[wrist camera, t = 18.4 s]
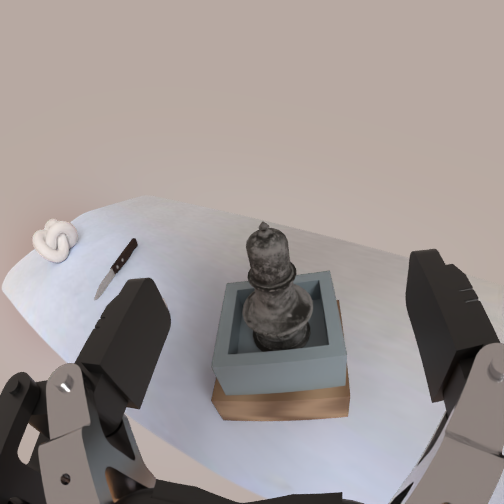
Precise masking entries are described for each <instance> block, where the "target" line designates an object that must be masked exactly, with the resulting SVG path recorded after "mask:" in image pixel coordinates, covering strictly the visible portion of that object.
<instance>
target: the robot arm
mask: <svg viewBox="0 0 504 504" xmlns="http://www.w3.org/2000/svg"><path fill="white" fill-rule="evenodd" d="M472 288H473V287H472V285H471V284H470V282H469V280H468V278H467V276H466V275H465V274H464V273H463V272H462V271H461V270H460V269H458V268H457V267H456V266H455V265H453V264H449V265H445V263H444V261H443V259H442V258H441V256H440V254H439V252H438V251H437V250H436V249H429V250H421V251H413V252H411V254H410V260H409V270H408V278H407V286H406V307H407V311H408V315H409V318H410V321H411V324H412V328H413V331H414V334H415V338H416V341H417V345H418V348H419V352H420V356H421V359H422V363H423V367H424V371H425V375H426V379H427V383H428V388H429V392H430V396H431V401H432V403H434V402H438V401H443V400H444V402H445V407H446V411H445V413H444V415H443V417H442V419H441V421H440V423H439V425H438V426H437V428H436V430H435V432H434V434H433V436H432V438H431V440H430V441H429V443H428V445H427V447H426V448H425V450H424V452H423V454H422V455H421V457H420V459H419V460H418V462H417V464H416V465H415V467H414V468H413V470H412V471H411V473H410V474H409V475H408V477H407V478H406V479H405V481H404V482H403V484H402V485H401V486H400V488H399V489H398V491H397V492H396V493H395V495H394V496H393V498H392V499H391V500H390V502H389V503H388V504H488V502H489V500H490V498H491V496H492V494H493V492H494V490H495V488H496V485H497V483H498V481H499V479H500V476H501V474H502V471H503V469H504V455H502V449H503V446H504V344H502V343H500V341H499V339H498V337H497V335H496V333H495V330H494V328H493V326H492V324H491V322H490V320H489V318H488V316H487V314H486V312H485V310H484V308H483V306H482V304H481V302H480V301H478V296H477V295H476V293H475V291H474V290H473V289H472ZM100 318H101V319H99V320H98V322H97V324H96V325H95V329H93V331H92V332H91V334H90V336H89V338H88V339H87V341H86V343H85V345H84V347H83V348H82V350H81V352H80V354H79V356H78V358H77V360H76V361H75V363H67V364H64V365H62V366H60V367H58V368H57V369H56V370H55V371H54V372H53V373H52V374H51V376H50V377H49V379H48V380H47V381H41V382H35V381H34V380H33V379H32V378H31V377H30V376H29V375H28V374H27V373H25V372H20V373H17V374H15V375H14V376H12V377H11V378H10V379H9V381H8V382H7V383H6V385H5V387H4V389H3V391H2V393H1V395H0V504H364V503H360V502H356V501H353V500H346V499H342V492H339V493H324V494H292V495H287V496H282V497H277V498H272V499H267V500H261V501H255V502H248V503H238V502H235V501H232V500H229V499H226V498H223V497H221V496H218V495H215V494H213V493H210V492H208V491H205V490H203V489H200V488H198V487H195V486H188V485H182V484H177V483H172V482H167V481H163V480H158V479H156V478H155V477H154V475H153V474H152V473H151V472H150V471H149V470H148V468H147V467H146V466H145V464H144V462H143V460H142V457H141V454H140V452H139V449H138V446H137V444H136V441H135V438H134V436H133V433H132V430H131V427H130V424H129V421H128V418H127V417H126V415H125V414H124V412H125V409H126V407H128V408H135V409H140V408H141V405H142V402H143V399H144V396H145V394H146V391H147V388H148V385H149V383H150V380H151V377H152V374H153V372H154V369H155V366H156V364H157V361H158V358H159V356H160V353H161V351H162V348H163V345H164V343H165V340H166V338H167V335H168V332H169V330H170V326H171V317H170V313H169V310H168V308H167V306H166V304H165V302H164V300H163V298H162V296H161V294H160V292H159V290H158V288H157V286H156V284H155V282H154V281H153V280H152V279H151V278H140V279H130V280H128V281H127V282H126V284H125V285H124V287H123V288H122V290H121V292H120V293H119V295H117V296H116V297H115V298H114V299H113V300H112V301H111V302H110V303H109V304H108V305H107V307H106V308H105V310H104V312H103V313H102V315H101V317H100ZM28 423H29V424H30V425H31V426H33V427H34V428H35V429H36V430H38V431H39V432H40V434H39V437H38V439H37V442H36V445H35V447H34V450H33V453H32V456H31V458H30V461H29V463H28V464H27V465H25V464H24V463H22V462H21V461H20V459H19V457H18V454H17V451H18V447H19V444H20V442H21V439H22V437H23V434H24V432H25V429H26V426H27V424H28Z"/></svg>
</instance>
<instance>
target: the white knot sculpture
mask: <svg viewBox="0 0 504 504" xmlns="http://www.w3.org/2000/svg"><path fill="white" fill-rule="evenodd" d="M66 235H67V237H66ZM32 240H33V245H34V248H35V249H36V251H37V252H38V253H39V254H40V255H41V256H42V257H44V258H45V259H47V260H49V261H51V262H55V263H59V262H63V261H64V260H65V259H66V258H67V256H68V254H69V249H70V248H72V247H73V246H74V245H75V244H76V242H77V240H78V233H77V230H76V228H75V227H74V226H73V225H72V224H71V223H69V222H66V221H58V220H56V219H50V220H49V221H48V222H47V223H46V224H45V227H44V230H38V231H37V232H35V233H34V235H33V238H32ZM57 249H58V250H57Z"/></svg>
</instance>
